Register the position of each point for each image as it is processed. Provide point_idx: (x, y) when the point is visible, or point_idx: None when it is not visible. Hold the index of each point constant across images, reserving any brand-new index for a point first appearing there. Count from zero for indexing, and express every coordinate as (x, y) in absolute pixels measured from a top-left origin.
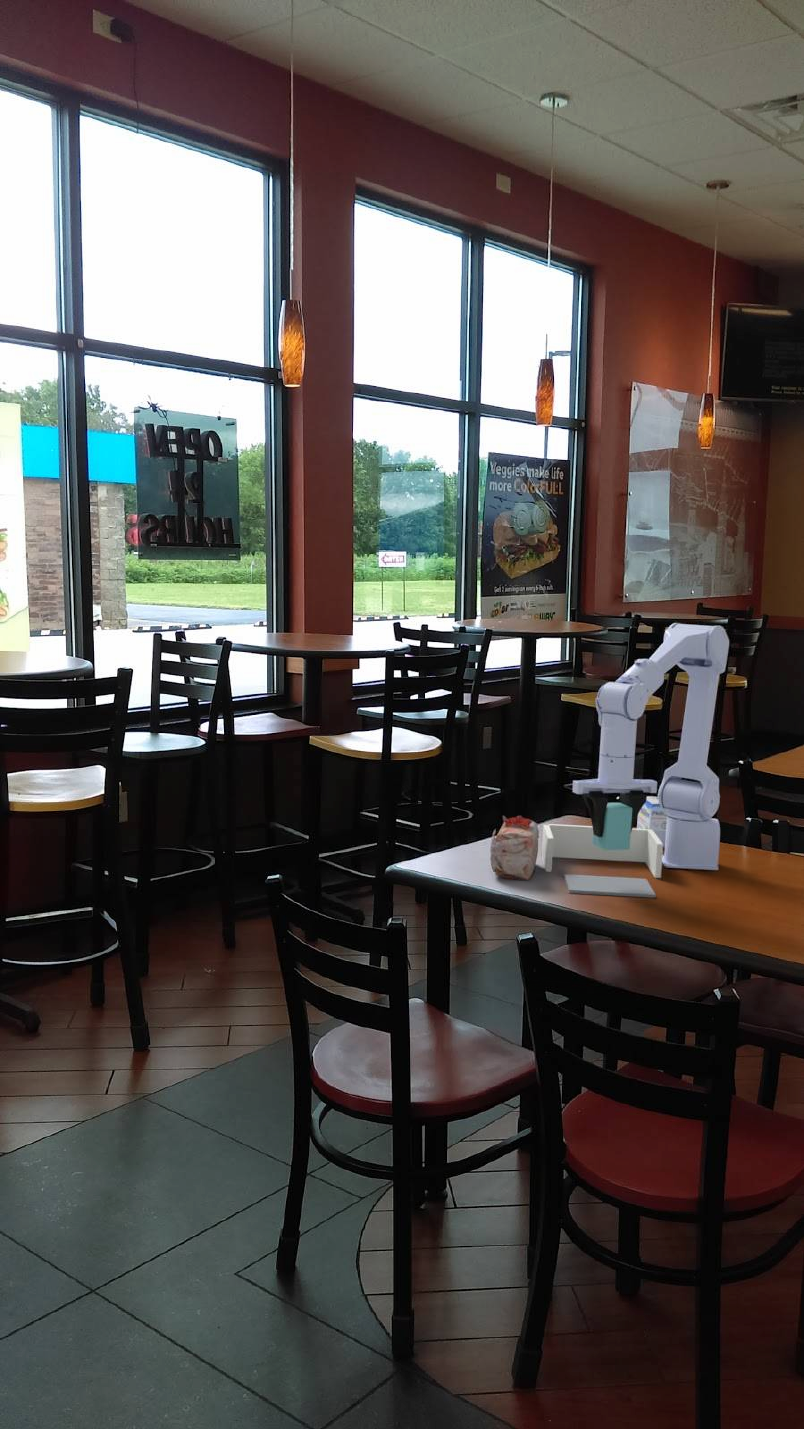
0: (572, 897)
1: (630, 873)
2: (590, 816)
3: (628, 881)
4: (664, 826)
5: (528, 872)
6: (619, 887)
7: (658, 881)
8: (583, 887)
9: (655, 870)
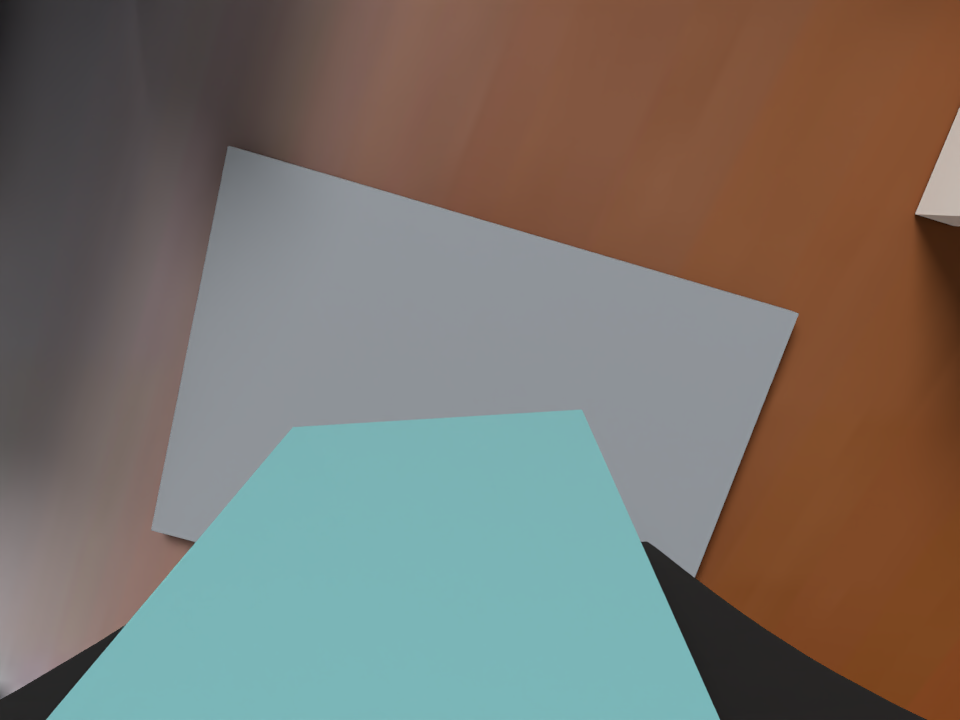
0: None
1: (794, 72)
2: (36, 684)
3: (631, 372)
4: None
5: None
6: None
7: (884, 307)
8: None
9: (949, 213)
